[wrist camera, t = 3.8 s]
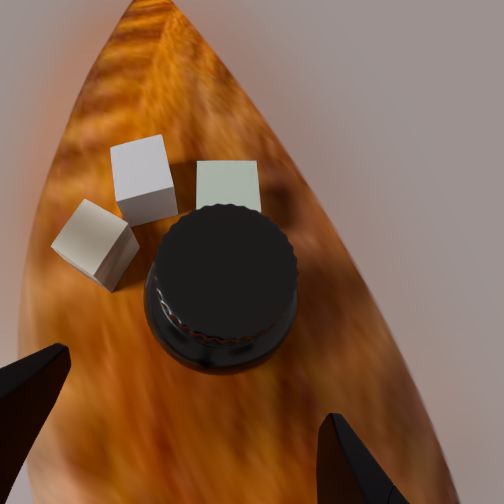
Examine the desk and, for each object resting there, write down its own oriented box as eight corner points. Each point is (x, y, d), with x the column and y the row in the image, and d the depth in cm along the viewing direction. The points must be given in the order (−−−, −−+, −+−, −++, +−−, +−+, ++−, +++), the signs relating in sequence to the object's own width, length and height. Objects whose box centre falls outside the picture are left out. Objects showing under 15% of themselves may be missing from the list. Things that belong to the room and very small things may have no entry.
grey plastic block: (178, 215, 24) (173, 186, 20) (129, 228, 23) (116, 201, 19) (166, 166, 26) (161, 134, 22) (121, 177, 25) (110, 147, 21)
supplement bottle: (195, 392, 19) (174, 414, 8) (150, 303, 21) (92, 223, 10) (285, 345, 21) (363, 307, 10) (237, 262, 23) (262, 153, 12)
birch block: (111, 293, 21) (93, 275, 17) (72, 267, 21) (50, 246, 18) (140, 248, 23) (128, 223, 19) (101, 225, 23) (84, 198, 19)
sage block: (252, 241, 24) (261, 211, 20) (198, 242, 23) (196, 212, 19) (248, 195, 25) (256, 161, 21) (198, 195, 25) (197, 160, 21)
